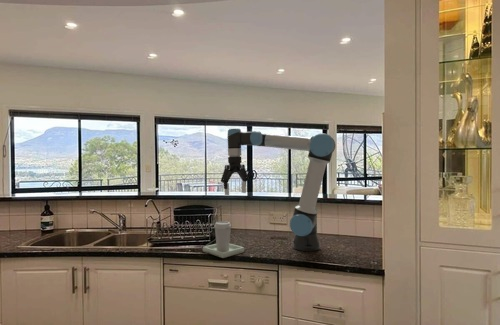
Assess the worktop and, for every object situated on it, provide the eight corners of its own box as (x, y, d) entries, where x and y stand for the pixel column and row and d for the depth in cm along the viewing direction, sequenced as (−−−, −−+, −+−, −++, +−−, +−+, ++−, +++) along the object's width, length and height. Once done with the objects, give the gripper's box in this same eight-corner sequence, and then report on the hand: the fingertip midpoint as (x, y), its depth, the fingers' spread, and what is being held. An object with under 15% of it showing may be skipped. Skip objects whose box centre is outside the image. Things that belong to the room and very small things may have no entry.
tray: (244, 252, 176) (244, 247, 176) (223, 258, 165) (223, 253, 165) (223, 246, 188) (223, 241, 188) (202, 251, 177) (202, 246, 177)
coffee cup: (234, 249, 179) (234, 222, 178) (226, 253, 170) (226, 225, 170) (219, 247, 183) (219, 220, 182) (210, 251, 174) (210, 223, 174)
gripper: (244, 156, 195) (245, 191, 195) (213, 156, 176) (214, 195, 176) (254, 155, 190) (255, 192, 190) (223, 156, 171) (224, 196, 171)
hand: (235, 193), depth 183 cm, fingers open, 13 cm apart
